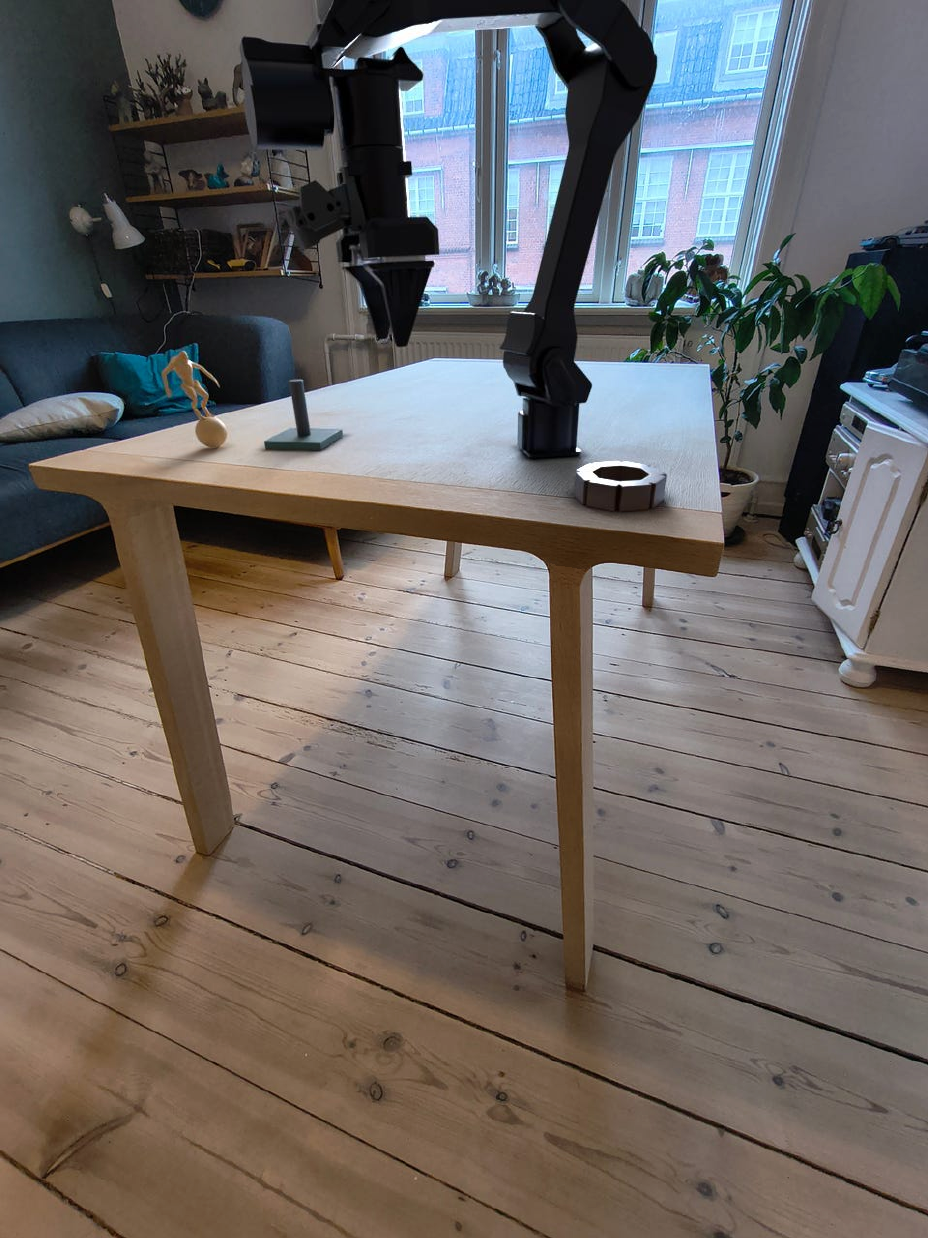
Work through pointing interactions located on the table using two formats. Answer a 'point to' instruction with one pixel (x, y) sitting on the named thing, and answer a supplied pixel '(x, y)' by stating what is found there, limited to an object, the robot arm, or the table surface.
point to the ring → (620, 486)
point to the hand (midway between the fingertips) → (391, 342)
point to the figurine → (208, 427)
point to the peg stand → (302, 427)
